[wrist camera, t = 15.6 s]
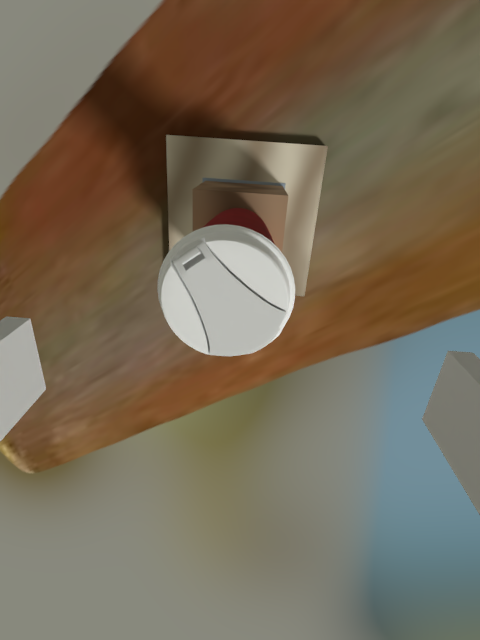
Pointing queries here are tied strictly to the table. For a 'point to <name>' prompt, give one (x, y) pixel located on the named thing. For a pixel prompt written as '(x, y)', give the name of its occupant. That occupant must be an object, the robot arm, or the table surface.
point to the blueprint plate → (252, 168)
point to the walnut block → (242, 204)
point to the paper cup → (227, 286)
